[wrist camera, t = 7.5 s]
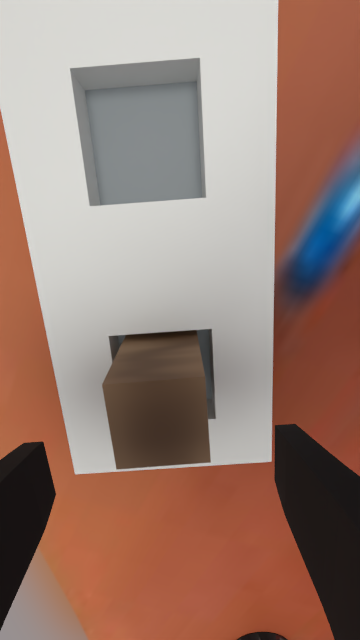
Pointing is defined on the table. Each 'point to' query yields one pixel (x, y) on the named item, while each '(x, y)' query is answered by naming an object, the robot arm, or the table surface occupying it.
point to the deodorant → (262, 636)
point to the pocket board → (149, 197)
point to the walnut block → (158, 401)
